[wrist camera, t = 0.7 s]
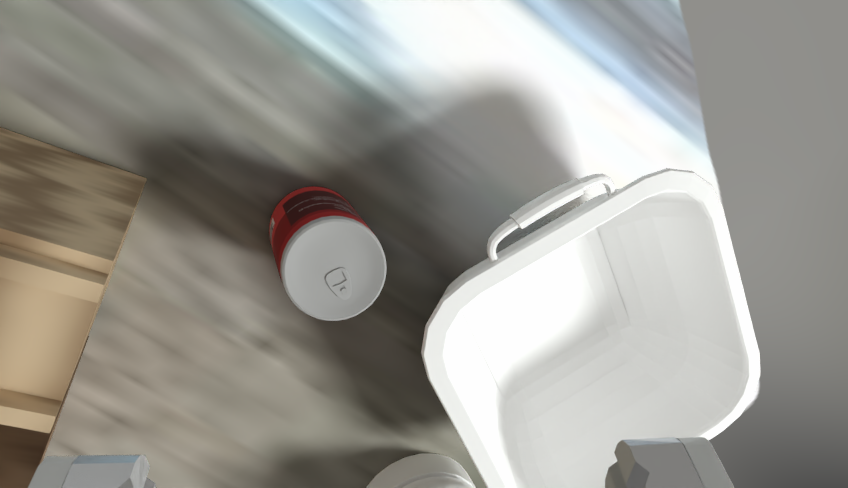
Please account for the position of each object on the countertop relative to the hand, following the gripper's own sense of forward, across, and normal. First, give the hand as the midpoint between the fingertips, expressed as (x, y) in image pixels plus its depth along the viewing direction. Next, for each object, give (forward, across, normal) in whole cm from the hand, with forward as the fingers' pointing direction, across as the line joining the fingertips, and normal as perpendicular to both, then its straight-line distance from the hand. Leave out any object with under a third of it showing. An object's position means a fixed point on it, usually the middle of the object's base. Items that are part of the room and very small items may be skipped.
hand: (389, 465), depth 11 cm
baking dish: (+42, -18, +34) cm, 57 cm away
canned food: (+40, +5, +22) cm, 46 cm away
